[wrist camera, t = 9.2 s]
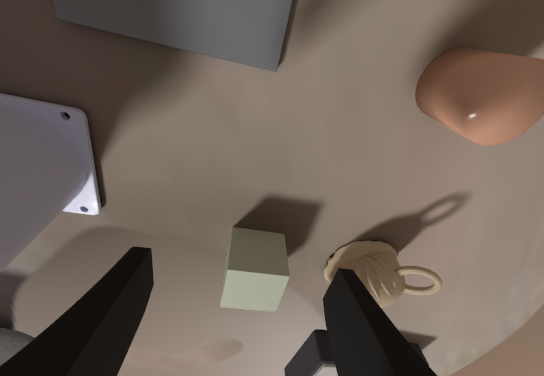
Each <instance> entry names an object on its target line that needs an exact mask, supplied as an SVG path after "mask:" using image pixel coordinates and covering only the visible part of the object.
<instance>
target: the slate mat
mask: <svg viewBox="0 0 544 376" xmlns="http://www.w3.org/2000/svg"><path fill="white" fill-rule="evenodd" d="M291 4H292V0H53V5H54V10H55V15H56V19H59V20H63V21H67V22H71V23H75V24H80V25H84V26H88V27H92V28H96V29H100V30H104V31H109V32H113V33H117V34H121V35H125V36H129V37H133V38H138V39H142V40H146V41H150V42H154V43H158V44H162V45H166V46H171V47H175V48H179V49H183V50H187V51H191V52H195V53H200V54H204V55H208V56H212V57H216V58H220V59H224V60H229V61H233V62H237V63H241V64H245V65H249V66H253V67H257V68H262V69H266V70H270V71H274V72H277V68H278V63H279V58H280V54H281V49H282V45H283V40H284V36H285V31H286V27H287V22H288V18H289V13H290V9H291Z"/></svg>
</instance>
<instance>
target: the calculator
mask: <svg viewBox="0 0 544 376" xmlns="http://www.w3.org/2000/svg"><path fill="white" fill-rule="evenodd" d="M409 344H410V345H411V347H412V348H413V349H414V350H415V351H416V353H417V354H418V355H419V356H420V357H421V358H422V359H423V361H424V362H425V363H426V364H427V365H428V366H429V364H428V363H427V361H426V359H425V357H424V355H423V353H422V351H421V349H420V347H419V345H418V344H415V343H409ZM285 376H338V374H337V370H336V366H335V362H334V357H333V353H332V349H331V345H330V340H329V336H328V332H327V330H322V329H315V330H314V331H313V332H312V333H311V335H310V336H309V337H308V338H307V340H306V341H305V342H304V344H303V345H302V346H301V347H300V349H299V350H298V351H297V353H296V354H295V355H294V357H293V358H292V359H291V360H290V362H289V363H288V364H287V365H286V367H285Z"/></svg>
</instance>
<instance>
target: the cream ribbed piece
mask: <svg viewBox="0 0 544 376" xmlns="http://www.w3.org/2000/svg"><path fill="white" fill-rule="evenodd" d="M397 256H398V255H397V252H396V250H395V249H394V248H393V247H392V246H391V245H390V244H388V243H383V242H381V241H370V240H366V241H354V242H351V243H349V244H348V245H346V246H343V247H341V248H339V249H338V250H337V251H336V252H335V254H334V256H333V257H332V258H330V259H329V260H328V265H327V266H326V267H325V268H324V277H325V279H326V280H327V281H329V282H330V284H331V282H332V280H333V278H334V276H335V274H336V272H337V270H338V268H343V269H352V270H353V271H354V272H355V273H356V275H357V276H358V277H359V279H360V280H361V281H362V283H363V284H364V286H365V287H366V288H367V290H368V291H369V292H370V294H371V295H372V297H373V298H374V299H375V301H376V302H377V303H378V305H379V306H380V307H381V308H383V307H386V306H388V305H390V304H391V303H393V302H395V301H396V300H397V299H398V298H399V297H400V296H401V295H402V294H403V292H405V293H408V294H413V295H430V294H433V293H436V292H437V291H439V290H440V289H441V287H442V280H441V278H440V277H439V276H438V275H437V274H436V273H434V272H433V271H431V270H429V269H426V268H422V267H418V266H403V267H400V265H399V263H398V260H397V259H396V258H397ZM405 274H421V275H425V276H427V277H429V278H431V279H432V280H433V281H434V284H433V285H431V286H429V287H414V286H409V285H406V284H405V279H404V275H405Z"/></svg>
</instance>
